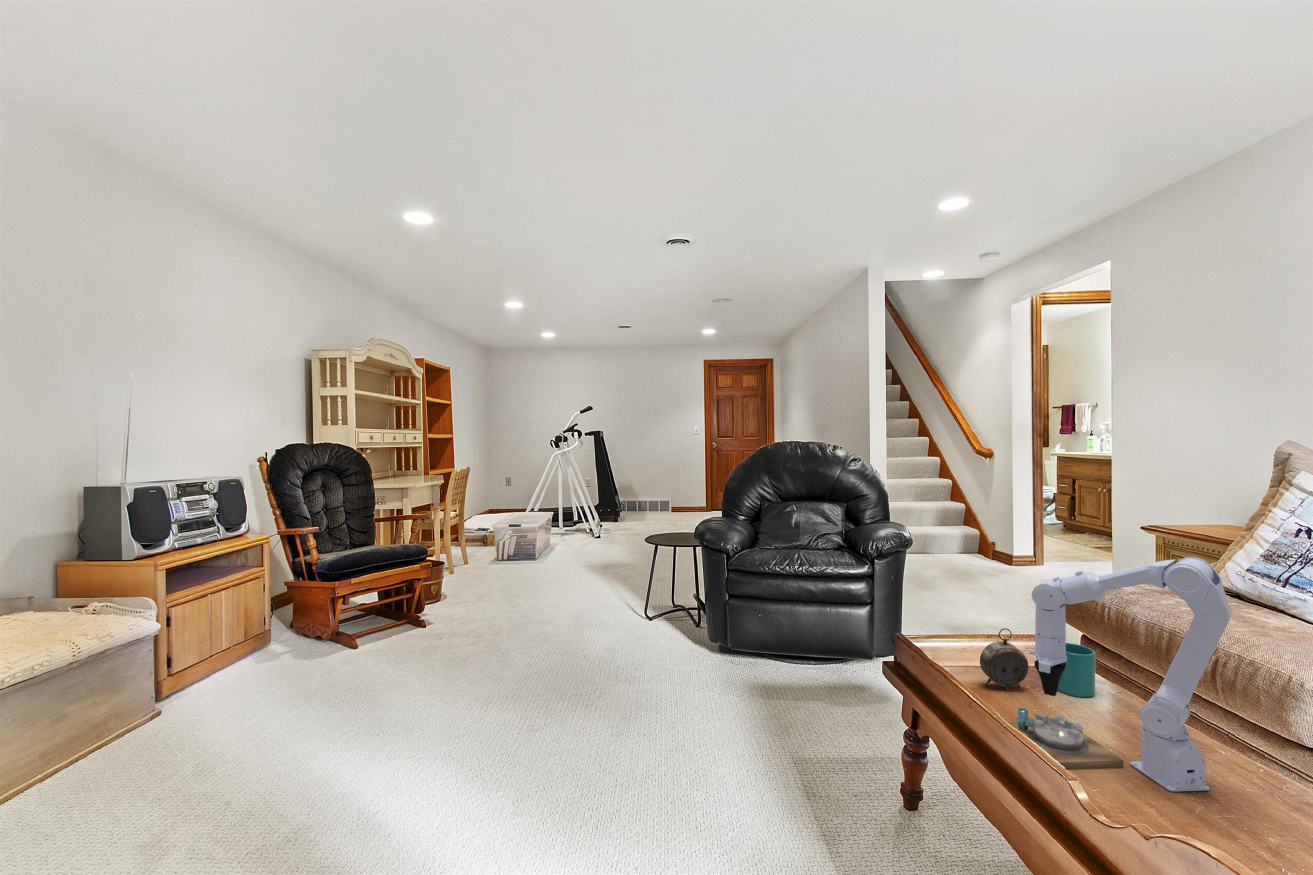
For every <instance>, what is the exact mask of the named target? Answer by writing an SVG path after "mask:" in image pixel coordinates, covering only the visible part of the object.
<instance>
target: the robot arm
mask: <svg viewBox="0 0 1313 875" xmlns="http://www.w3.org/2000/svg"><path fill="white" fill-rule="evenodd" d="M1176 560H1177V559H1176V558H1175V559H1165V560H1159V561H1155V562H1150V563H1149V562H1148V563H1144V564H1141V565H1137V566H1134V567H1133V566H1132V567H1129V568H1126V569H1122V570H1118V571H1113V572H1110V573H1106V574H1103V575H1099V574H1096V573H1093V572H1091V571H1086V572H1084V570H1078V571H1076V572H1074V574H1073V575H1070V576H1066V577H1062V578H1060V576H1057V577H1053V578H1052V579H1051V580H1046V581H1044V582H1042V583H1039V584H1038V585H1036V586H1035V587H1034V588H1033V589H1032V591H1031V598H1032V601H1033V602H1034V604H1035V615H1034V616H1035V630H1034V632H1035V639H1034V640H1035V641H1034V642H1035V646H1034V647H1035V648H1030V649H1029V651H1028V652H1029V654H1030V655H1032V656H1033V655H1034V657H1035V658H1036V660H1035V661H1034V662H1033V663H1034V665H1033V666H1034V667H1035V670H1036V672H1037V673H1038V675H1039V678H1040V681H1041V685H1042V690H1043V691H1042V692H1043V694H1044V695H1046V696H1051V697H1056V696H1057V693H1058V691H1059V690H1058V686H1059V681H1060V678H1061V675H1062V673H1063V671H1064V670H1065V668H1066V663H1064V662H1066V661H1067V657H1066V643H1067V642H1066V641H1067V637H1066V632H1067V631H1066V629H1067V627H1066V626H1067V625H1066V623H1067V622H1066V620H1067V617H1066V605H1074V604H1079V603H1086V602H1091V601H1095V600H1099V599H1103V598H1104V596H1105V594H1106V592H1107V591H1112V590H1118V589H1123V588H1128V587H1135V586H1140V585H1145V584H1148V585H1151V586H1154V587H1156V588H1159V589H1163V590H1164V588H1166V587H1167V588H1168V589H1169V590H1170V591H1171V592H1172V593H1173V594H1175V595H1176V596H1177V597H1179V598H1180V599H1181V600H1182V601H1184V602H1185V603H1186V604H1187V605H1188V606H1187V607H1189V609H1190V610H1191V612H1192V613H1193V614H1194V616H1193V619H1192V620H1191V622H1190V625H1189V627H1188V629H1187V631H1186V632H1185V635H1184V636H1183V639H1182V641H1181V643H1180V645H1179V647H1178V649H1177V651H1176V653H1175V656H1174V658H1173V660H1172V662H1171V664H1170V666H1169V668H1168V669H1167V673H1166V674H1165V676H1164V678H1163V681H1162V683H1161V685H1160V686H1159V688H1158V689H1157V691H1156V692H1154V693H1153V694H1152V695H1151V696H1150V698H1149V700H1148V702H1146V704H1145V705H1142V707H1141V709H1140V710H1139V719H1140V721H1141V760H1140V761H1130V762H1129V765H1130V766H1132V767H1133V768H1135V769H1136V770H1138V771H1140V772H1141V773H1142V774H1144V775H1145V776H1147V777H1148V778H1149V779H1151V780H1153V781H1154V782H1156V783H1157V784H1159V785H1160V786H1162V787H1163V788H1164V789H1166V790H1168V791H1169V792H1198V791H1200V792H1201V791H1203V792H1204V791H1210V787H1209V786H1208V785H1206V756H1205V755H1204V752H1203V751H1202V750H1201V749H1200V748H1198V747H1197V746H1196V745H1195V744H1194V742H1192V740H1191V738H1190V732H1188V729H1187V728H1186V726H1185V723H1186V721H1188V719H1189V718H1190V716H1191V709H1190V701H1191V699H1192V697H1193V694H1194V691H1195V690H1196V687H1197V686H1198V684H1199V682H1200V681H1201V680H1200V679H1201V678H1202V676H1203V673H1204V672H1205V670H1206V668H1207V666H1208V663H1209V662H1210V660H1211V659H1212V656H1213V654H1214V652H1215V650H1216V648H1217V646H1218V644H1219V643H1220V640H1221V638H1222V636H1223V633H1224V632H1225V630H1226V627H1227V626H1228V624H1229V622H1230V620H1231V618H1232V610H1231V606H1230V603H1229V600H1228V598H1227V595H1226V591H1225V588H1224V586H1223V585H1224V584H1223V579H1222V578H1223V577H1221V575H1220V574H1219V573H1218V572H1217V571H1216V569H1215V568H1214V567H1213V566H1212V565H1211V564H1210V563H1209V562H1207V561H1206V560H1205V559H1203V558H1200V557H1197V556H1196V557H1194V556H1187V557H1184V558H1183V557H1182V558H1180V559H1179V560H1177V561H1176ZM1175 561H1176V562H1175ZM1174 562H1175V563H1174Z"/></svg>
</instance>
